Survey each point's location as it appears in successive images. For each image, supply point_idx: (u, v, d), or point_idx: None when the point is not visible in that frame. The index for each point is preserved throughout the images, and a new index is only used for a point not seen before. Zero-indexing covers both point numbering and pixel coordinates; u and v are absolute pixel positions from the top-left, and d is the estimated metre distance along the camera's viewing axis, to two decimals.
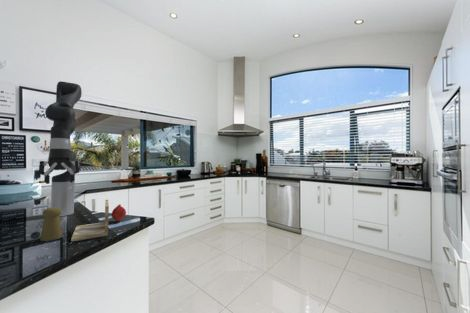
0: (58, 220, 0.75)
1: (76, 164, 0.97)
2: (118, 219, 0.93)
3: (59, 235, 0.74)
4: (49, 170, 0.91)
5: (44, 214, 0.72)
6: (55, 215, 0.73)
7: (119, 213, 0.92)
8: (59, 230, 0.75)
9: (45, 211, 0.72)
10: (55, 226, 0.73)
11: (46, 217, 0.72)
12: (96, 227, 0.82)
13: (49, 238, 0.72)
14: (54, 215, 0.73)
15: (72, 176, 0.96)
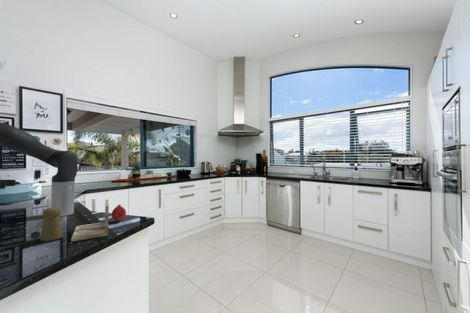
0: (58, 220, 0.75)
1: None
2: (118, 219, 0.93)
3: (59, 235, 0.74)
4: None
5: (44, 214, 0.72)
6: (55, 215, 0.73)
7: (119, 213, 0.92)
8: (59, 230, 0.75)
9: (45, 211, 0.72)
10: (55, 226, 0.73)
11: (46, 217, 0.72)
12: (96, 227, 0.82)
13: (49, 238, 0.72)
14: (54, 215, 0.73)
15: None
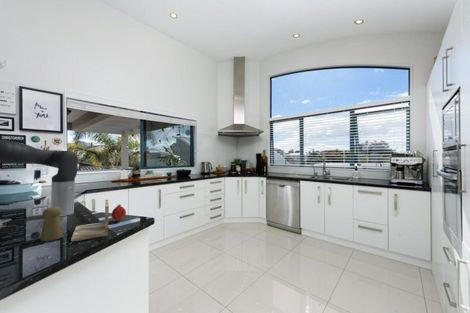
0: (58, 220, 0.75)
1: None
2: (118, 219, 0.93)
3: (59, 235, 0.74)
4: None
5: (44, 214, 0.72)
6: (55, 215, 0.73)
7: (119, 213, 0.92)
8: (59, 230, 0.75)
9: (45, 211, 0.72)
10: (55, 226, 0.73)
11: (46, 217, 0.72)
12: (96, 227, 0.82)
13: (49, 238, 0.72)
14: (54, 215, 0.73)
15: (3, 233, 0.65)
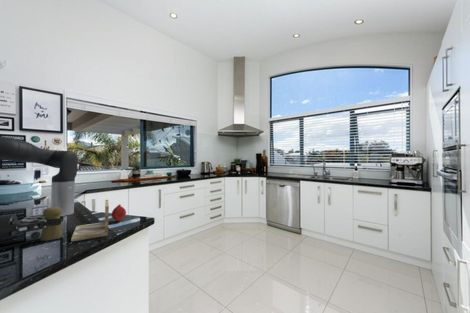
0: None
1: None
2: (118, 219, 0.93)
3: (59, 235, 0.74)
4: None
5: (44, 214, 0.72)
6: (56, 215, 0.74)
7: (119, 213, 0.92)
8: (59, 230, 0.75)
9: (45, 211, 0.72)
10: (55, 226, 0.73)
11: (46, 217, 0.72)
12: (96, 227, 0.82)
13: (49, 238, 0.72)
14: (54, 214, 0.73)
15: (50, 225, 0.72)
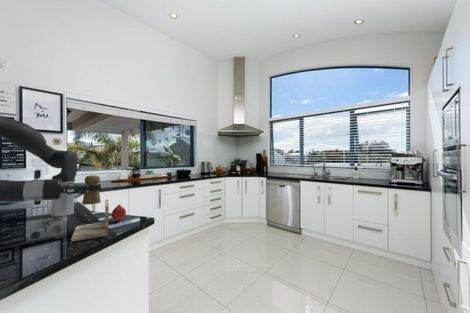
0: None
1: (73, 193, 0.74)
2: (118, 219, 0.93)
3: (98, 200, 0.81)
4: None
5: (86, 180, 0.79)
6: (96, 182, 0.80)
7: (119, 213, 0.92)
8: (98, 196, 0.82)
9: (87, 177, 0.79)
10: (95, 192, 0.80)
11: (88, 183, 0.79)
12: (96, 227, 0.82)
13: (90, 202, 0.79)
14: (94, 181, 0.80)
15: (91, 190, 0.79)
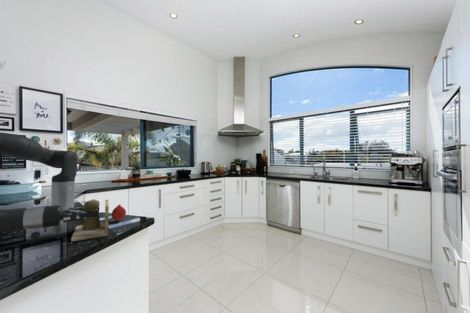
0: None
1: None
2: (118, 219, 0.93)
3: (98, 225, 0.81)
4: None
5: (85, 206, 0.79)
6: (95, 207, 0.81)
7: (119, 213, 0.92)
8: (98, 221, 0.82)
9: (86, 203, 0.79)
10: (95, 217, 0.80)
11: (87, 209, 0.79)
12: None
13: (90, 228, 0.79)
14: (94, 207, 0.80)
15: (89, 216, 0.77)
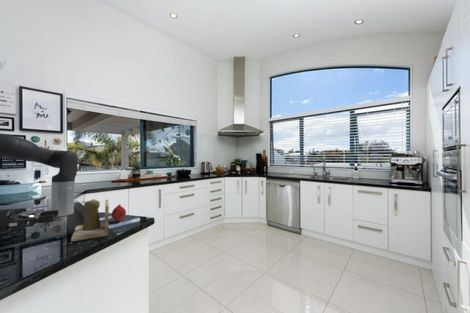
0: (97, 212, 0.82)
1: None
2: (118, 219, 0.93)
3: (98, 226, 0.81)
4: None
5: (86, 206, 0.79)
6: (95, 207, 0.80)
7: (119, 213, 0.92)
8: (98, 221, 0.82)
9: (87, 203, 0.79)
10: (95, 218, 0.80)
11: (87, 209, 0.79)
12: None
13: (90, 228, 0.79)
14: (94, 207, 0.80)
15: (42, 222, 0.69)
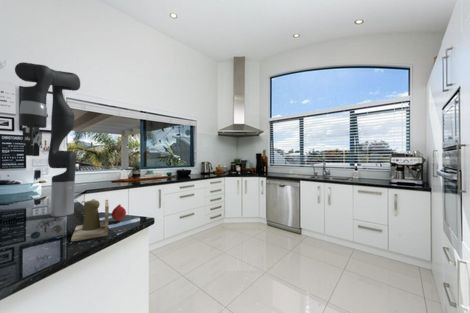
0: (97, 212, 0.82)
1: None
2: (118, 219, 0.93)
3: (98, 225, 0.81)
4: None
5: (86, 206, 0.79)
6: (95, 207, 0.80)
7: (119, 213, 0.92)
8: (98, 221, 0.82)
9: (86, 203, 0.79)
10: (95, 218, 0.80)
11: (87, 209, 0.79)
12: None
13: (90, 228, 0.79)
14: (94, 207, 0.80)
15: (25, 147, 0.75)
